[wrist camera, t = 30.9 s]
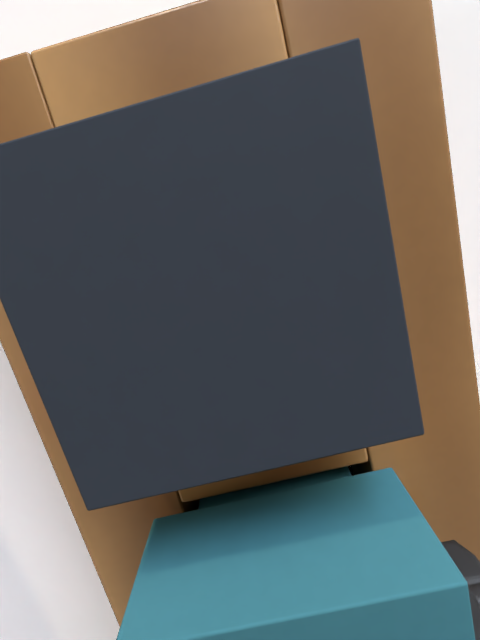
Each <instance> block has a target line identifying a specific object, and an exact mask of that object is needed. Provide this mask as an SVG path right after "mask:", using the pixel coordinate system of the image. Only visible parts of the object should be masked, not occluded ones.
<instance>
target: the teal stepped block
mask: <svg viewBox="0 0 480 640" xmlns="http://www.w3.org/2000/svg"><path fill="white" fill-rule="evenodd" d="M116 640H475V633H474V626H473V618H472V611H471V604H470V597H469V590H468V583H467V581H466V580H465V578H464V577H463V575H462V574H461V572H460V571H459V569H458V568H457V566H456V564H455V563H454V561H453V560H452V558H451V557H450V555H449V554H448V552H447V551H446V549H445V548H444V546H443V545H442V543H441V542H440V540H439V539H438V537H437V536H436V534H435V533H434V531H433V529H432V528H431V526H430V525H429V523H428V522H427V520H426V519H425V517H424V516H423V514H422V513H421V511H420V510H419V508H418V507H417V505H416V504H415V502H414V501H413V499H412V498H411V496H410V494H409V493H408V491H407V490H406V488H405V487H404V485H403V484H402V482H401V481H400V479H399V478H398V476H397V475H396V473H395V472H394V470H393V469H392V468H386V469H381V470H376V471H372V472H367V473H363V474H358V475H353V476H352V474H351V472H350V470H349V468H348V466H347V467H342V468H338V469H333V470H329V471H324V472H320V473H315V474H311V475H306V476H301V477H297V478H292V479H288V480H283V481H279V482H274V483H270V484H265V485H261V486H256V487H252V488H247V489H243V490H238V491H233V492H229V493H224V494H220V495H215V496H211V497H206V498H202V499H200V501H199V507H198V509H197V510H193V511H188V512H184V513H179V514H174V515H170V516H165V517H161V518H156V519H154V520H153V523H152V526H151V529H150V533H149V536H148V539H147V542H146V546H145V549H144V552H143V555H142V558H141V562H140V565H139V568H138V571H137V575H136V578H135V581H134V584H133V588H132V591H131V594H130V597H129V600H128V604H127V607H126V610H125V613H124V617H123V620H122V623H121V626H120V630H119V633H118V636H117V639H116Z"/></svg>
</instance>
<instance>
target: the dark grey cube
mask: <svg viewBox="0 0 480 640" xmlns="http://www.w3.org/2000/svg"><path fill="white" fill-rule="evenodd" d="M0 300H1V302H2V305H3V307H4V310H5V312H6V315H7V317H8V319H9V322H10V324H11V327H12V329H13V331H14V334H15V336H16V339H17V341H18V344H19V346H20V348H21V351H22V353H23V356H24V358H25V361H26V363H27V365H28V368H29V370H30V373H31V375H32V377H33V380H34V382H35V385H36V387H37V390H38V392H39V394H40V397H41V399H42V402H43V404H44V407H45V409H46V411H47V414H48V416H49V419H50V421H51V423H52V426H53V428H54V431H55V433H56V436H57V438H58V440H59V443H60V445H61V448H62V450H63V452H64V455H65V457H66V460H67V462H68V465H69V467H70V469H71V472H72V474H73V477H74V479H75V482H76V484H77V486H78V489H79V491H80V494H81V496H82V498H83V501H84V503H85V506H86V508H87V510H88V511H91V510H95V509H100V508H104V507H108V506H113V505H117V504H122V503H126V502H130V501H135V500H139V499H144V498H148V497H152V496H157V495H161V494H166V493H170V492H174V491H179V490H183V489H188V488H192V487H196V486H201V485H205V484H210V483H214V482H218V481H223V480H227V479H231V478H236V477H240V476H245V475H249V474H253V473H258V472H262V471H267V470H271V469H275V468H280V467H284V466H289V465H293V464H297V463H302V462H306V461H311V460H315V459H319V458H324V457H328V456H333V455H337V454H341V453H346V452H350V451H355V450H359V449H363V448H368V447H372V446H376V445H381V444H385V443H390V442H394V441H398V440H403V439H407V438H412V437H416V436H420V435H423V434H424V427H423V421H422V415H421V409H420V403H419V397H418V391H417V385H416V378H415V372H414V366H413V360H412V354H411V348H410V342H409V336H408V330H407V324H406V318H405V312H404V305H403V299H402V293H401V287H400V281H399V275H398V269H397V263H396V257H395V251H394V245H393V239H392V233H391V226H390V220H389V214H388V208H387V202H386V196H385V190H384V184H383V178H382V172H381V166H380V160H379V153H378V147H377V141H376V135H375V129H374V123H373V117H372V111H371V105H370V99H369V93H368V87H367V80H366V74H365V68H364V62H363V56H362V50H361V44H360V40H359V38H355V39H351V40H348V41H345V42H341V43H338V44H335V45H331V46H328V47H325V48H321V49H318V50H314V51H311V52H308V53H304V54H301V55H298V56H294V57H291V58H287V59H284V60H281V61H277V62H274V63H271V64H267V65H264V66H261V67H257V68H254V69H250V70H247V71H244V72H240V73H237V74H234V75H230V76H227V77H223V78H220V79H217V80H213V81H210V82H207V83H203V84H200V85H197V86H193V87H190V88H186V89H183V90H180V91H176V92H173V93H170V94H166V95H163V96H159V97H156V98H153V99H149V100H146V101H143V102H139V103H136V104H133V105H129V106H126V107H122V108H119V109H116V110H112V111H109V112H106V113H102V114H99V115H96V116H92V117H89V118H85V119H82V120H79V121H75V122H72V123H69V124H65V125H62V126H58V127H55V128H52V129H48V130H45V131H42V132H38V133H35V134H32V135H28V136H25V137H21V138H18V139H15V140H11V141H8V142H5V143H1V144H0Z"/></svg>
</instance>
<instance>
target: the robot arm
mask: <svg viewBox="0 0 480 640" xmlns="http://www.w3.org/2000/svg"><path fill="white" fill-rule="evenodd" d="M441 543H442V545H443V546H444V548H445V549H446V551H447V552H448V554H449V555H450V557H451V558H452V560H453V561H454V563H455V564H456V566H457V568H458V569H459V571H460V572H461V574H462V575H463V577H464V578H465V580H466V581H467V583H468V590H469V597H470V604H471V611H472V618H473V626H474V633H475V640H480V561H479V560H478V559H477V557H476V556H475V555H474V554H473V553H471V552H470V551H469V550H467V549H466V548H465V547H463V546H462V545H461V544H459V543H458V542H457V541H455V540H450V541H445V542H441Z"/></svg>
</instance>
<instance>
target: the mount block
mask: <svg viewBox="0 0 480 640" xmlns="http://www.w3.org/2000/svg"><path fill="white" fill-rule="evenodd" d="M355 38H359V40H360V44H361V50H362V56H363V62H364V68H365V74H366V80H367V87H368V93H369V99H370V105H371V111H372V117H373V123H374V129H375V135H376V141H377V147H378V153H379V160H380V166H381V172H382V178H383V184H384V190H385V196H386V202H387V208H388V214H389V220H390V226H391V233H392V239H393V245H394V251H395V257H396V263H397V269H398V275H399V281H400V287H401V293H402V299H403V305H404V312H405V318H406V324H407V330H408V336H409V342H410V348H411V354H412V360H413V366H414V372H415V378H416V385H417V391H418V397H419V403H420V409H421V415H422V421H423V427H424V434H423V435H420V436H416V437H412V438H407V439H403V440H398V441H394V442H390V443H385V444H381V445H376V446H372V447H368V448H363V449H359V450H355V451H350V452H346V453H341V454H337V455H333V456H328V457H324V458H319V459H315V460H311V461H306V462H302V463H297V464H293V465H289V466H284V467H280V468H275V469H271V470H267V471H262V472H258V473H253V474H249V475H245V476H240V477H236V478H231V479H227V480H223V481H218V482H214V483H210V484H205V485H201V486H196V487H192V488H188V489H183V490H179V491H174V492H170V493H166V494H161V495H157V496H152V497H148V498H144V499H139V500H135V501H130V502H126V503H122V504H117V505H113V506H108V507H104V508H100V509H95V510H91V511H88V510H87V508H86V506H85V503H84V501H83V498H82V496H81V494H80V491H79V489H78V486H77V484H76V482H75V479H74V477H73V474H72V472H71V469H70V467H69V465H68V462H67V460H66V457H65V455H64V452H63V450H62V448H61V445H60V443H59V440H58V438H57V436H56V433H55V431H54V428H53V426H52V423H51V421H50V419H49V416H48V414H47V411H46V409H45V407H44V404H43V402H42V399H41V397H40V394H39V392H38V390H37V387H36V385H35V382H34V380H33V377H32V375H31V373H30V370H29V368H28V365H27V363H26V361H25V358H24V356H23V353H22V351H21V348H20V346H19V344H18V341H17V339H16V336H15V334H14V331H13V329H12V327H11V324H10V322H9V319H8V317H7V315H6V312H5V310H4V307H3V305H2V302H1V300H0V341H1V343H2V346H3V348H4V351H5V353H6V355H7V358H8V360H9V363H10V365H11V367H12V370H13V372H14V375H15V377H16V379H17V382H18V384H19V387H20V389H21V391H22V394H23V396H24V399H25V401H26V403H27V406H28V408H29V410H30V413H31V415H32V418H33V420H34V422H35V425H36V427H37V430H38V432H39V434H40V437H41V439H42V442H43V444H44V446H45V449H46V451H47V454H48V456H49V458H50V461H51V463H52V465H53V468H54V470H55V473H56V475H57V477H58V480H59V482H60V485H61V487H62V489H63V492H64V494H65V497H66V499H67V501H68V504H69V506H70V509H71V511H72V513H73V516H74V518H75V521H76V523H77V525H78V528H79V530H80V532H81V535H82V537H83V540H84V542H85V544H86V547H87V549H88V552H89V554H90V556H91V559H92V561H93V564H94V566H95V568H96V571H97V573H98V576H99V578H100V580H101V583H102V585H103V587H104V590H105V592H106V595H107V597H108V599H109V602H110V604H111V607H112V609H113V611H114V614H115V616H116V619H117V621H118V623H119V626H121V623H122V620H123V617H124V613H125V610H126V607H127V604H128V600H129V597H130V594H131V591H132V588H133V584H134V581H135V578H136V575H137V571H138V568H139V565H140V562H141V558H142V555H143V552H144V549H145V546H146V542H147V539H148V536H149V533H150V529H151V526H152V523H153V520H154V519H156V518H161V517H165V516H170V515H174V514H179V513H184V512H188V511H193V510H197V509H198V507H199V501H200V499H202V498H206V497H211V496H215V495H220V494H224V493H229V492H233V491H238V490H243V489H247V488H252V487H256V486H261V485H265V484H270V483H274V482H279V481H283V480H288V479H292V478H297V477H301V476H306V475H311V474H315V473H320V472H324V471H329V470H333V469H338V468H342V467H347V466H351V465H352V467H353V472H354V475H358V474H363V473H367V472H372V471H376V470H381V469H386V468H392V469H393V470H394V472H395V473H396V475H397V476H398V478H399V479H400V481H401V482H402V484H403V485H404V487H405V488H406V490H407V491H408V493H409V494H410V496H411V498H412V499H413V501H414V502H415V504H416V505H417V507H418V508H419V510H420V511H421V513H422V514H423V516H424V517H425V519H426V520H427V522H428V523H429V525H430V526H431V528H432V529H433V531H434V533H435V534H436V536H437V537H438V539H439V540H440V542H445V541H450V540H455V541H457V542H458V543H459V544H461V545H462V546H463V547H465V548H466V549H467V550H469V551H470V552H471V553H473V554H474V555H475V556H476V557H477V559H478V560H479V561H480V403H479V395H478V386H477V378H476V369H475V361H474V353H473V344H472V336H471V328H470V319H469V311H468V302H467V294H466V286H465V277H464V269H463V260H462V252H461V244H460V235H459V227H458V219H457V210H456V202H455V193H454V185H453V177H452V168H451V160H450V151H449V143H448V135H447V126H446V118H445V110H444V101H443V93H442V84H441V76H440V68H439V59H438V51H437V42H436V34H435V26H434V17H433V9H432V1H431V0H199V1H195V2H192V3H189V4H186V5H182V6H179V7H176V8H172V9H169V10H166V11H163V12H159V13H156V14H153V15H149V16H146V17H143V18H140V19H136V20H133V21H130V22H127V23H123V24H120V25H117V26H113V27H110V28H107V29H104V30H100V31H97V32H94V33H90V34H87V35H84V36H81V37H77V38H74V39H71V40H68V41H64V42H61V43H58V44H54V45H51V46H48V47H45V48H41V49H38V50H35V51H32V52H31V54H29V53H28V52H25V53H21V54H18V55H15V56H12V57H8V58H5V59H2V60H0V144H1V143H5V142H8V141H11V140H15V139H18V138H21V137H25V136H28V135H32V134H35V133H38V132H42V131H45V130H48V129H52V128H55V127H58V126H62V125H65V124H69V123H72V122H75V121H79V120H82V119H85V118H89V117H92V116H96V115H99V114H102V113H106V112H109V111H112V110H116V109H119V108H122V107H126V106H129V105H133V104H136V103H139V102H143V101H146V100H149V99H153V98H156V97H159V96H163V95H166V94H170V93H173V92H176V91H180V90H183V89H186V88H190V87H193V86H197V85H200V84H203V83H207V82H210V81H213V80H217V79H220V78H223V77H227V76H230V75H234V74H237V73H240V72H244V71H247V70H250V69H254V68H257V67H261V66H264V65H267V64H271V63H274V62H277V61H281V60H284V59H287V58H291V57H294V56H298V55H301V54H304V53H308V52H311V51H314V50H318V49H321V48H325V47H328V46H331V45H335V44H338V43H341V42H345V41H348V40H351V39H355Z"/></svg>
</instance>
